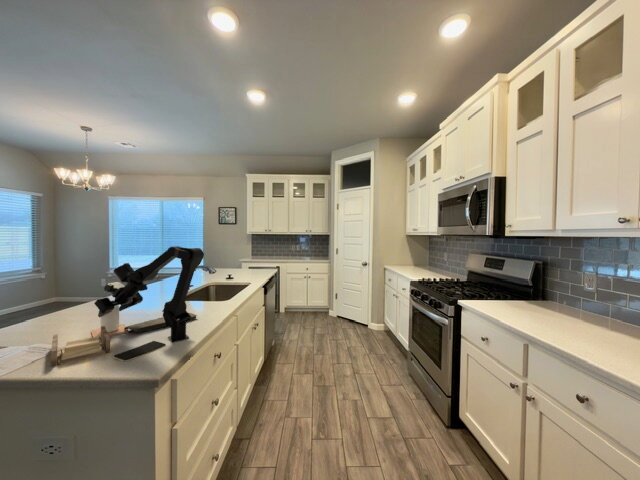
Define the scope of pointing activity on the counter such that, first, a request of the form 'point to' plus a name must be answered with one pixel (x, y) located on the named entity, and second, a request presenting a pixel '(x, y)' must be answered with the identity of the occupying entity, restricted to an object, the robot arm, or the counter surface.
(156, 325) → the stone slab
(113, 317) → the can
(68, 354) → the rack
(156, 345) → the smartphone
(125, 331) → the tile
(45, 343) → the counter surface
